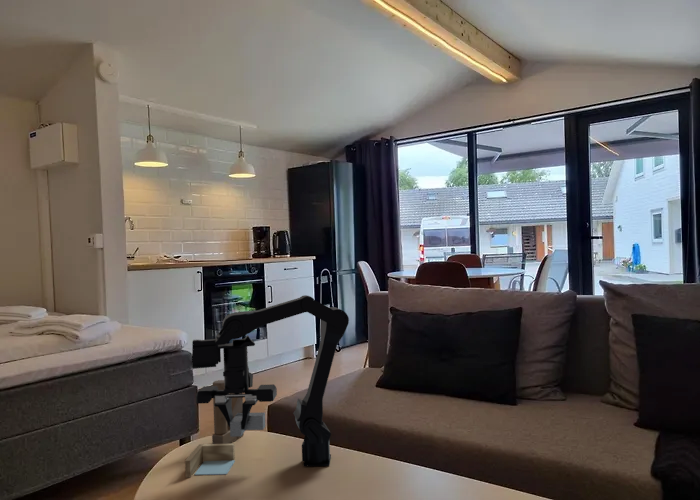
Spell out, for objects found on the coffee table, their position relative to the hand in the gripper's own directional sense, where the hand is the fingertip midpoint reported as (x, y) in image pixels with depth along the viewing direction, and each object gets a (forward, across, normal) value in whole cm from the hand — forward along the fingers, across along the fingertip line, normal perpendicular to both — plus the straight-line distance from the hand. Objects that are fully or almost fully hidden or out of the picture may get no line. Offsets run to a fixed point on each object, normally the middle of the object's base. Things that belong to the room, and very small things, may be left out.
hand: (238, 429), depth 126 cm
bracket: (+1, -2, -1) cm, 3 cm away
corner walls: (+11, +7, -3) cm, 13 cm away
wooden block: (+11, +8, -21) cm, 25 cm away
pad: (+11, +7, -3) cm, 13 cm away
